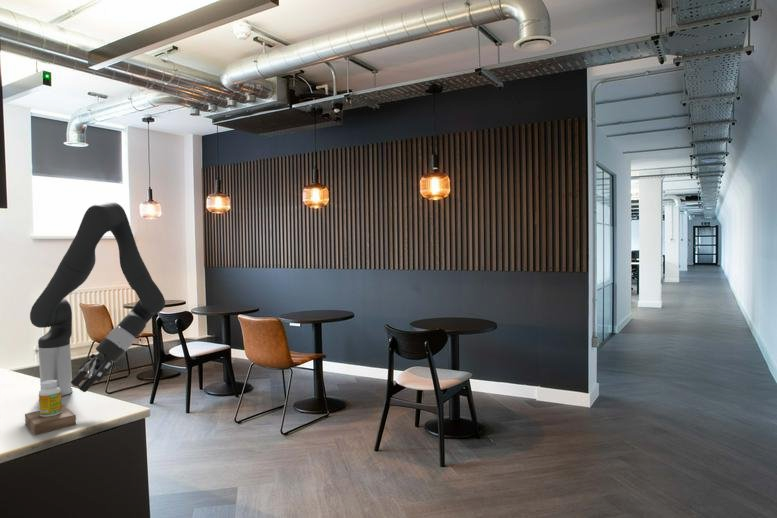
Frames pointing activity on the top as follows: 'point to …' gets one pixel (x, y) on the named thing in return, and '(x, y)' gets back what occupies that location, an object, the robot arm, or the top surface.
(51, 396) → the supplement bottle
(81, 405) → the top surface
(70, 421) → the walnut riser
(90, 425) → the top surface
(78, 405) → the top surface
